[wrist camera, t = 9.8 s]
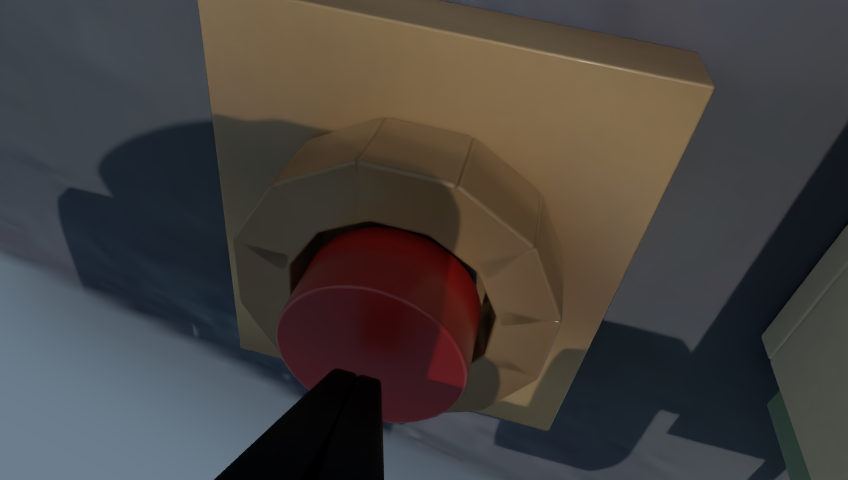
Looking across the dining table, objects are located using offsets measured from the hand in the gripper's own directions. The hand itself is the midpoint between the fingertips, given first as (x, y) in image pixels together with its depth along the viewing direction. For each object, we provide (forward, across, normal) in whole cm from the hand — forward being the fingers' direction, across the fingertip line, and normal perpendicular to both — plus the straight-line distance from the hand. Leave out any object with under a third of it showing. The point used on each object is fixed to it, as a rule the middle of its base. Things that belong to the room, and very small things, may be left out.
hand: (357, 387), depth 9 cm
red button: (+2, 0, 0) cm, 2 cm away
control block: (+6, 0, 0) cm, 6 cm away
